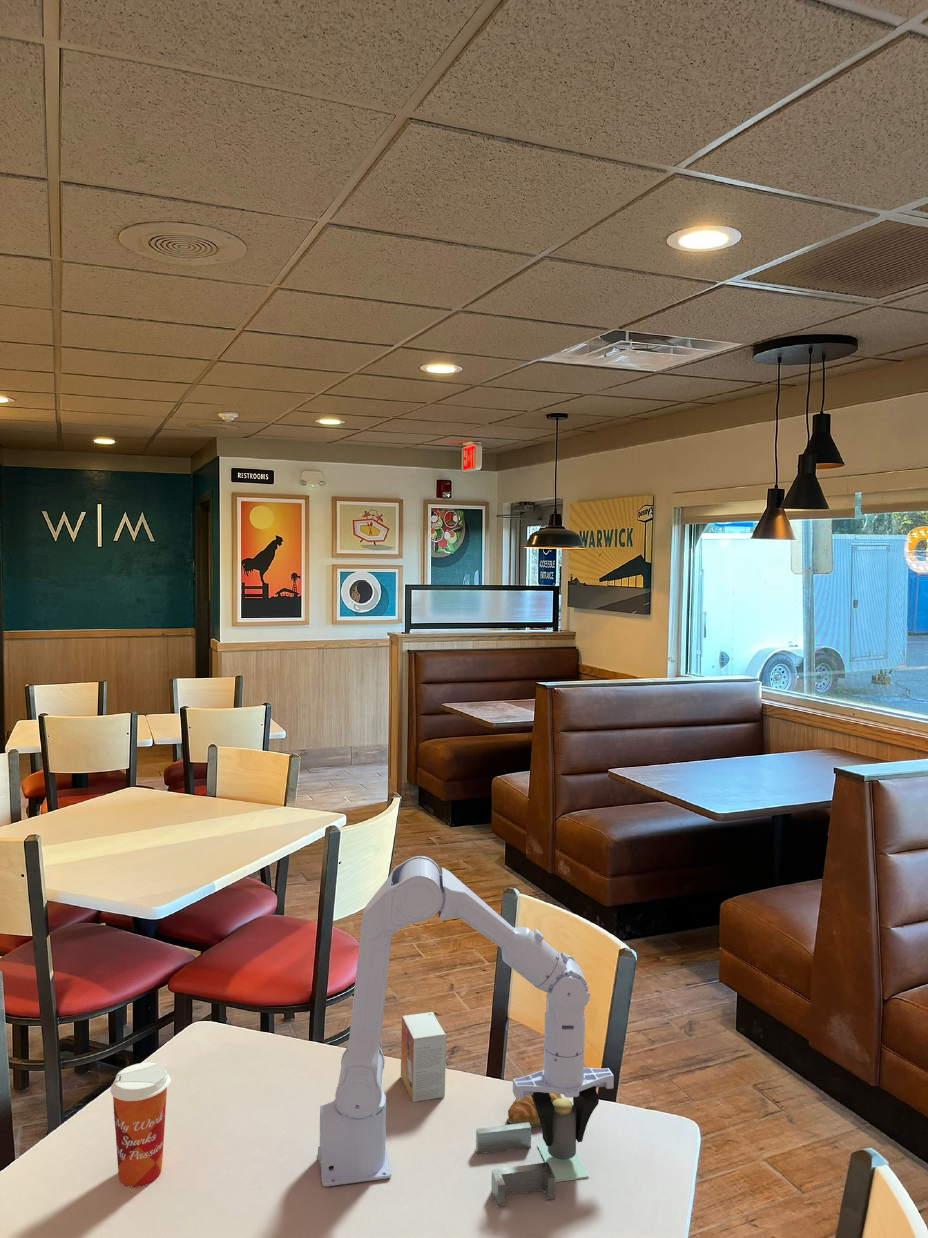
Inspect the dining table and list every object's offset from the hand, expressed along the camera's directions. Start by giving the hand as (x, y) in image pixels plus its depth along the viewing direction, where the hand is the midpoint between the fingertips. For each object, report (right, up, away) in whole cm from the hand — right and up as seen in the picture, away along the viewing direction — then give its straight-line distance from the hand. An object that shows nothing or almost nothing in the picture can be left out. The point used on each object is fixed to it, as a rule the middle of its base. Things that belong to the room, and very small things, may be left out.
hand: (562, 1140), depth 127 cm
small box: (-21, -2, +19) cm, 28 cm away
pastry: (-3, -3, +11) cm, 12 cm away
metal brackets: (-7, -3, -1) cm, 8 cm away
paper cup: (-59, -3, -4) cm, 59 cm away
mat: (0, -3, 0) cm, 3 cm away
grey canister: (0, -2, 0) cm, 2 cm away
